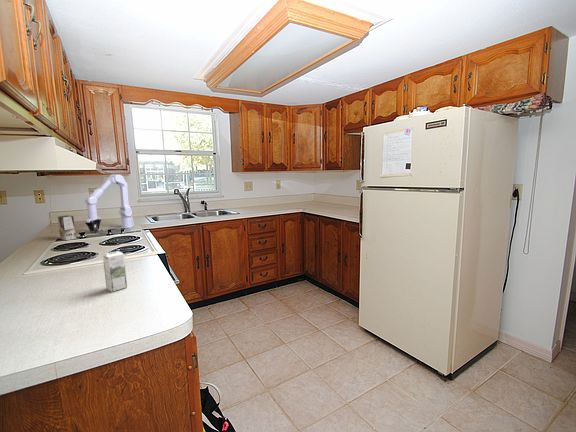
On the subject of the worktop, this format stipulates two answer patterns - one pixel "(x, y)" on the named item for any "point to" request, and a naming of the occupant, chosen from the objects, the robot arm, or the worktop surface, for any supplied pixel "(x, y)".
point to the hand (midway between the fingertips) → (94, 230)
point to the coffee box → (66, 227)
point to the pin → (95, 228)
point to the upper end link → (108, 229)
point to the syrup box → (115, 271)
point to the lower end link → (119, 231)
